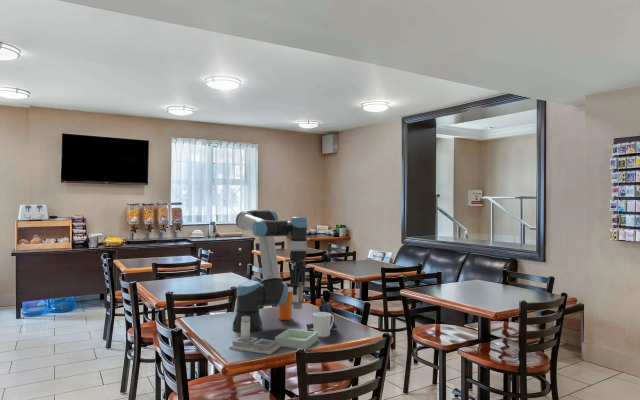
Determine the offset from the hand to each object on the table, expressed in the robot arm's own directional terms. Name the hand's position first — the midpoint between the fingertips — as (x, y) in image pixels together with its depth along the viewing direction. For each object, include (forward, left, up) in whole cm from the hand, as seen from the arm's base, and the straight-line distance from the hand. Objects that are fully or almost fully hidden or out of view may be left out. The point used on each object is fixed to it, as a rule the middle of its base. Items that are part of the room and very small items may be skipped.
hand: (297, 300), depth 196 cm
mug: (+7, +17, -20) cm, 27 cm away
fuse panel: (-14, -14, -19) cm, 28 cm away
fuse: (-19, -14, -18) cm, 30 cm away
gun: (+3, +25, -20) cm, 32 cm away
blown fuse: (0, 0, -3) cm, 3 cm away
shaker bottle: (-24, +38, -20) cm, 49 cm away
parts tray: (0, 0, -19) cm, 19 cm away
